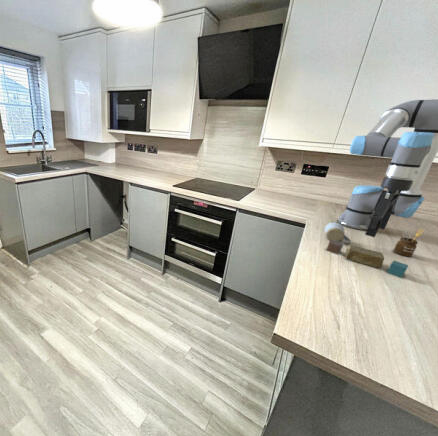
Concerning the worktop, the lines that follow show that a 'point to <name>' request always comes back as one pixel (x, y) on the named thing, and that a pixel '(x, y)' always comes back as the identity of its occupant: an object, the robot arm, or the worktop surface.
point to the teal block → (397, 268)
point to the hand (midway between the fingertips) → (374, 232)
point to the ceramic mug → (336, 232)
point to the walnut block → (334, 246)
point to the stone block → (365, 256)
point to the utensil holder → (407, 245)
